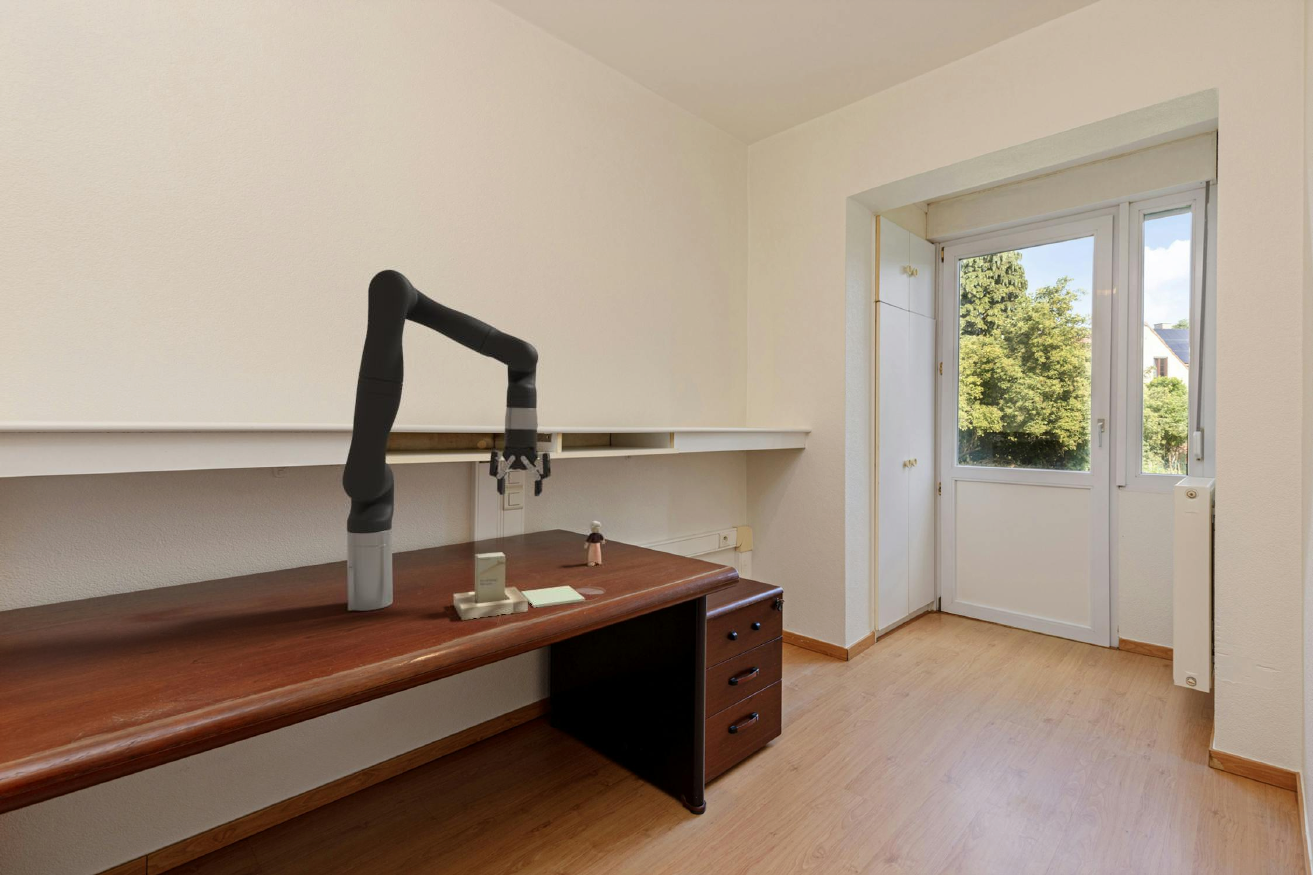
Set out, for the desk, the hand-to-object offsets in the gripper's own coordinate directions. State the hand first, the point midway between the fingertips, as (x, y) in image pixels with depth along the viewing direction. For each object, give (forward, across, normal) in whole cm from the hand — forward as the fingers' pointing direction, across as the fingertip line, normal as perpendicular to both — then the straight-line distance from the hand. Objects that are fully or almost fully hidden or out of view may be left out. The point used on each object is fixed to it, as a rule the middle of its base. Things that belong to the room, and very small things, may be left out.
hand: (519, 495), depth 149 cm
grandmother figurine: (+24, +13, +34) cm, 43 cm away
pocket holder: (+24, -3, -10) cm, 26 cm away
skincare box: (+25, -3, -10) cm, 27 cm away
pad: (+24, +9, 0) cm, 26 cm away
